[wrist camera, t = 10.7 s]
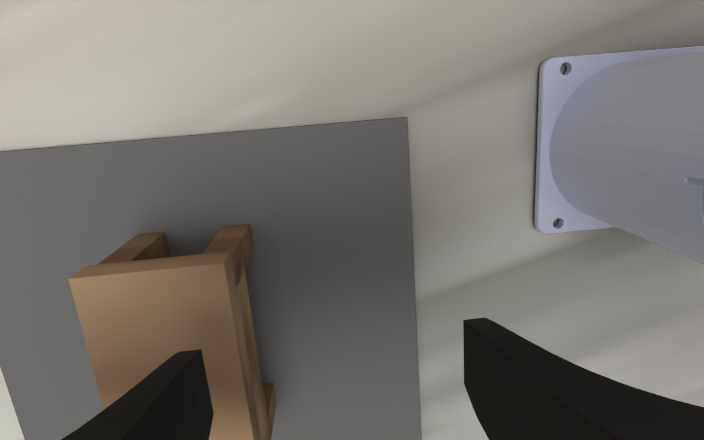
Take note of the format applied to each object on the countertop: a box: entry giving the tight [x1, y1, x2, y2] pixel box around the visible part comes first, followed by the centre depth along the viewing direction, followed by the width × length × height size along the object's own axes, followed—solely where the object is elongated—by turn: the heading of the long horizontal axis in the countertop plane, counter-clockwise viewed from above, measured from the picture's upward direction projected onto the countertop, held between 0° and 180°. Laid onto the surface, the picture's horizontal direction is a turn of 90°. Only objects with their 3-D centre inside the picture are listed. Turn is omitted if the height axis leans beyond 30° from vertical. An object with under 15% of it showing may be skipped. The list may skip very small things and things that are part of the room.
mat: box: [0, 117, 422, 440], centre depth 21 cm, size 20×18×1 cm
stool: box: [68, 224, 276, 440], centre depth 18 cm, size 10×5×6 cm, turn 5°
